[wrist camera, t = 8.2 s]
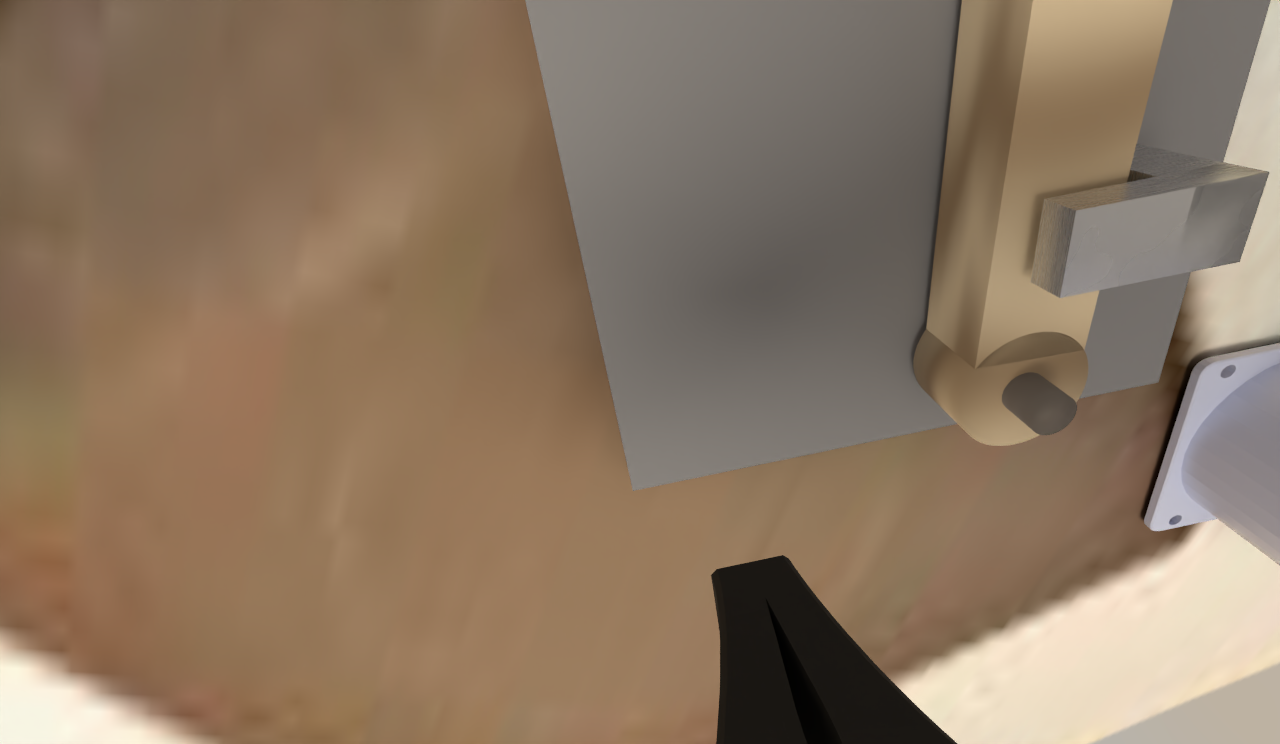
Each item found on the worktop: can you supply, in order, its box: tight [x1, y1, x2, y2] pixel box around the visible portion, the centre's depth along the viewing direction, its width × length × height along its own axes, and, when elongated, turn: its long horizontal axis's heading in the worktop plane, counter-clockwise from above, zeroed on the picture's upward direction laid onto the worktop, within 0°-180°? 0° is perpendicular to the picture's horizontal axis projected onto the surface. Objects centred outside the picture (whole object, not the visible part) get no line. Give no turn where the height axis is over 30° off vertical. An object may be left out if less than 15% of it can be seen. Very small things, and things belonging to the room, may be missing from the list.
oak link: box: [913, 0, 1173, 446], centre depth 15 cm, size 14×4×4 cm, turn 8°
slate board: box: [525, 0, 1270, 491], centre depth 17 cm, size 18×18×1 cm
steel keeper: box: [1031, 144, 1269, 298], centre depth 15 cm, size 4×2×4 cm, turn 99°
